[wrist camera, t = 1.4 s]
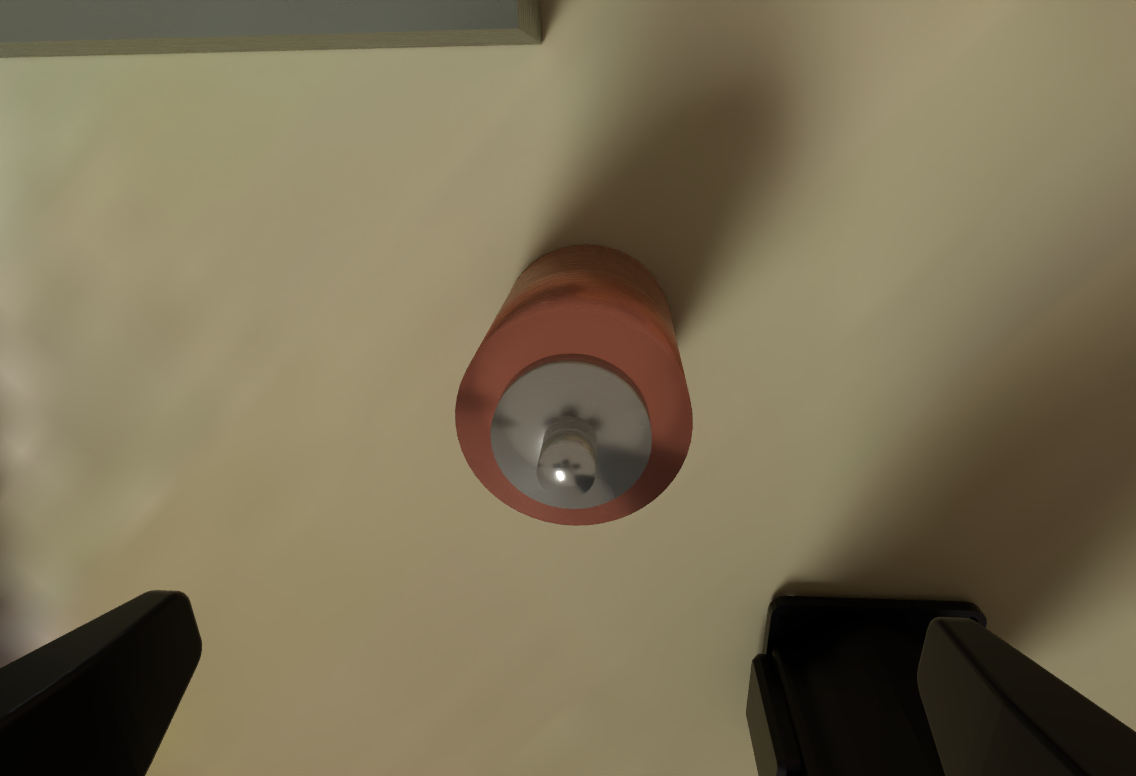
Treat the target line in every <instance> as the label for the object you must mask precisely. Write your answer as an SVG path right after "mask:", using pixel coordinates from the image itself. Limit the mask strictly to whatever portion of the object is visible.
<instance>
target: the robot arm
mask: <svg viewBox="0 0 1136 776" xmlns="http://www.w3.org/2000/svg"><path fill="white" fill-rule="evenodd" d="M784 611H791V612H790V613H789V614H785V615H782V614H781V613H782V612H784ZM968 617H971V618H968ZM986 624H987V619H986V617H985V616H984V614H983V613H982V611H981V610H980V608H979V607H978V606H977V605H976V604H974V603H970V602H957V601H926V600H895V599H865V598H834V597H804V596H781V597H778V598H776V599H774V600H773V601H772V602H771V603H770V605H769V607H768V614H767V622H766V630H765V638H764V646H763V654H757V655H756V656H755V658H754V659H753V660H752V665H751V674H750V682H749V691H748V699H747V708H746V716H747V721H748V726H749V731H750V736H751V741H752V746H753V751H754V755H755V760H756V765H757V770H758V775H759V776H1136V732H1135V731H1134V730H1132V729H1131V728H1129V727H1128V726H1127V725H1125V724H1124V723H1122V722H1121V721H1119V720H1118V719H1116V718H1115V717H1114V716H1112V715H1111V714H1109V713H1108V712H1106V711H1105V710H1103V709H1102V708H1101V707H1099V706H1098V705H1096V704H1095V703H1093V702H1092V701H1090V700H1089V699H1088V698H1086V697H1085V696H1083V695H1082V694H1080V693H1079V692H1077V691H1076V690H1074V689H1073V688H1072V687H1070V686H1069V685H1067V684H1066V683H1064V682H1063V681H1061V680H1060V679H1059V678H1057V677H1056V676H1054V675H1053V674H1051V673H1050V672H1048V671H1047V670H1046V669H1044V668H1043V667H1041V666H1040V665H1038V664H1037V663H1035V662H1034V661H1033V660H1031V659H1030V658H1028V657H1027V656H1025V655H1024V654H1022V653H1021V652H1020V651H1018V650H1017V649H1015V648H1014V647H1012V646H1011V645H1009V644H1008V643H1007V642H1005V641H1004V640H1002V639H1001V638H999V637H998V636H996V635H995V634H994V633H992V632H991V631H989V630H988V629H986ZM201 652H202V640H201V636H200V633H199V630H198V626H197V623H196V620H195V616H194V613H193V610H192V606H191V603H190V600H189V598H188V597H187V595H186V594H185V593H183V592H180V591H166V590H153V591H148V592H146V593H144V594H142V595H140V596H138V597H136V598H134V599H132V600H130V601H128V602H126V603H124V604H122V605H121V606H119V607H117V608H115V609H113V610H111V611H109V612H107V613H105V614H103V615H101V616H100V617H98V618H96V619H94V620H92V621H90V622H88V623H86V624H84V625H82V626H80V627H78V628H77V629H75V630H73V631H71V632H69V633H67V634H65V635H63V636H61V637H59V638H57V639H56V640H54V641H52V642H50V643H48V644H46V645H44V646H42V647H40V648H38V649H36V650H34V651H33V652H31V653H29V654H27V655H25V656H23V657H21V658H19V659H17V660H15V661H13V662H11V663H10V664H8V665H6V666H4V667H2V668H0V776H145V775H146V773H147V771H148V769H149V767H150V765H151V763H152V761H153V759H154V757H155V754H156V752H157V750H158V748H159V746H160V744H161V742H162V740H163V737H164V735H165V733H166V731H167V729H168V727H169V725H170V723H171V720H172V718H173V716H174V714H175V712H176V710H177V708H178V706H179V703H180V701H181V699H182V697H183V695H184V693H185V691H186V689H187V686H188V684H189V682H190V680H191V678H192V676H193V674H194V671H195V669H196V667H197V665H198V663H199V660H200V657H201Z"/></svg>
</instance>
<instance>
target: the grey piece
mask: <svg viewBox="0 0 1136 776" xmlns="http://www.w3.org/2000/svg"><path fill="white" fill-rule="evenodd" d="M525 44H542V34H541V1H540V0H0V58H9V57H49V56H88V55H128V54H168V53H208V52H247V51H287V50H327V49H367V48H406V47H446V46H486V45H525Z"/></svg>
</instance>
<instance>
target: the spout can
mask: <svg viewBox="0 0 1136 776" xmlns="http://www.w3.org/2000/svg"><path fill="white" fill-rule="evenodd" d="M455 420H456V430H457V436H458V440H459V443H460V446H461V450H462V452H463V454H464V456H465V459H466V461H467V463H468V465H469V466H470V468H471V469H472V471H473V472H474V474H475V476H476V477H477V478H478V479H479V480H480V482H481V483H482V484H483V485H484V486H485V487H486V488H487V489H488V490H489V491H490V492H491V493H492V494H493V495H494V496H495V497H497V498H498V499H499V500H501V501H502V502H504V503H505V504H506V505H508V506H510V507H511V508H513V509H515V510H517V511H518V512H521V513H523V514H525V515H528V516H530V517H532V518H536V519H539V520H542V521H545V522H550V523H556V524H562V525H593V524H600V523H605V522H609V521H613V520H617V519H619V518H622V517H625V516H627V515H630V514H632V513H634V512H636V511H638V510H639V509H641V508H643V507H645V506H646V505H647V504H649V503H650V502H652V501H653V500H654V499H656V498H657V497H658V496H659V495H660V494H661V493H662V492H663V491H664V490H665V489H666V488H667V487H668V486H669V485H670V483H671V482H672V481H673V480H674V478H675V477H676V475H677V474H678V472H679V470H680V469H681V467H682V465H683V463H684V460H685V458H686V456H687V453H688V450H689V446H690V443H691V436H692V429H693V418H692V408H691V402H690V397H689V392H688V388H687V384H686V379H685V375H684V371H683V366H682V362H681V358H680V353H679V349H678V345H677V340H676V336H675V332H674V327H673V323H672V319H671V314H670V310H669V306H668V303H667V300H666V297H665V295H664V293H663V290H662V288H661V287H660V285H659V283H658V282H657V280H656V279H655V278H654V276H653V275H652V274H651V273H650V272H649V271H648V270H647V269H646V268H645V267H644V266H643V265H642V264H641V263H639V262H638V261H637V260H635V259H634V258H632V257H631V256H629V255H627V254H625V253H623V252H621V251H618V250H615V249H612V248H609V247H604V246H599V245H573V246H569V247H564V248H561V249H558V250H555V251H552V252H550V253H548V254H546V255H544V256H542V257H541V258H539V259H538V260H537V261H535V262H534V263H532V264H531V265H530V266H529V267H528V268H527V269H526V270H525V271H524V272H523V273H522V275H521V276H520V277H519V278H518V280H517V281H516V283H515V284H514V286H513V288H512V289H511V291H510V293H509V295H508V297H507V298H506V300H505V302H504V304H503V306H502V307H501V309H500V311H499V313H498V314H497V316H496V318H495V320H494V322H493V323H492V325H491V327H490V329H489V331H488V332H487V334H486V336H485V338H484V340H483V341H482V343H481V345H480V347H479V348H478V350H477V352H476V354H475V356H474V357H473V359H472V361H471V363H470V365H469V366H468V368H467V370H466V372H465V375H464V377H463V379H462V381H461V384H460V388H459V391H458V395H457V401H456V409H455Z"/></svg>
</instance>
